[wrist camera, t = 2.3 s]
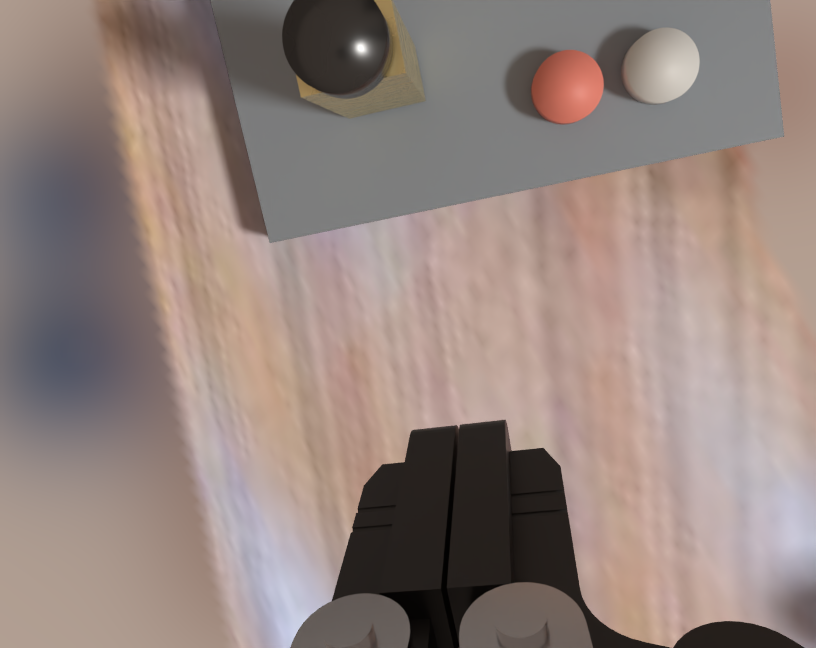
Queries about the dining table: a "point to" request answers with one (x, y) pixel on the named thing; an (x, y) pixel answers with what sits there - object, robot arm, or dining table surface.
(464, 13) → the control board
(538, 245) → the dining table surface
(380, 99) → the slide lever
